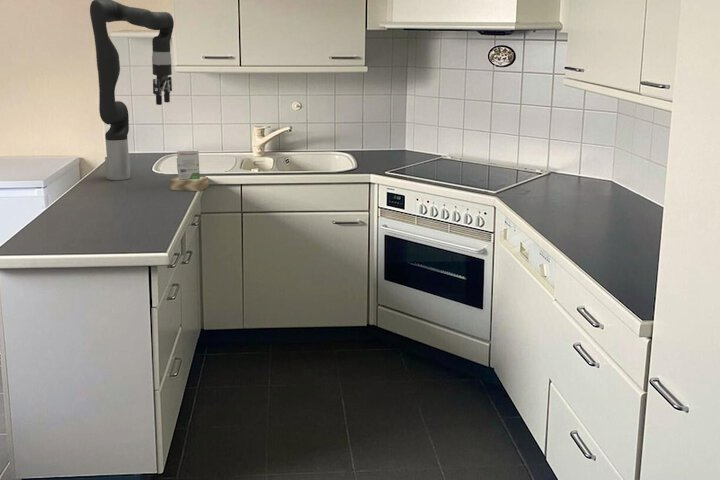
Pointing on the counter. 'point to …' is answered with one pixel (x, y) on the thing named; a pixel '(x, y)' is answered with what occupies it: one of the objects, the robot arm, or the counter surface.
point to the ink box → (188, 164)
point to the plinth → (189, 184)
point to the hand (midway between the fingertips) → (163, 103)
